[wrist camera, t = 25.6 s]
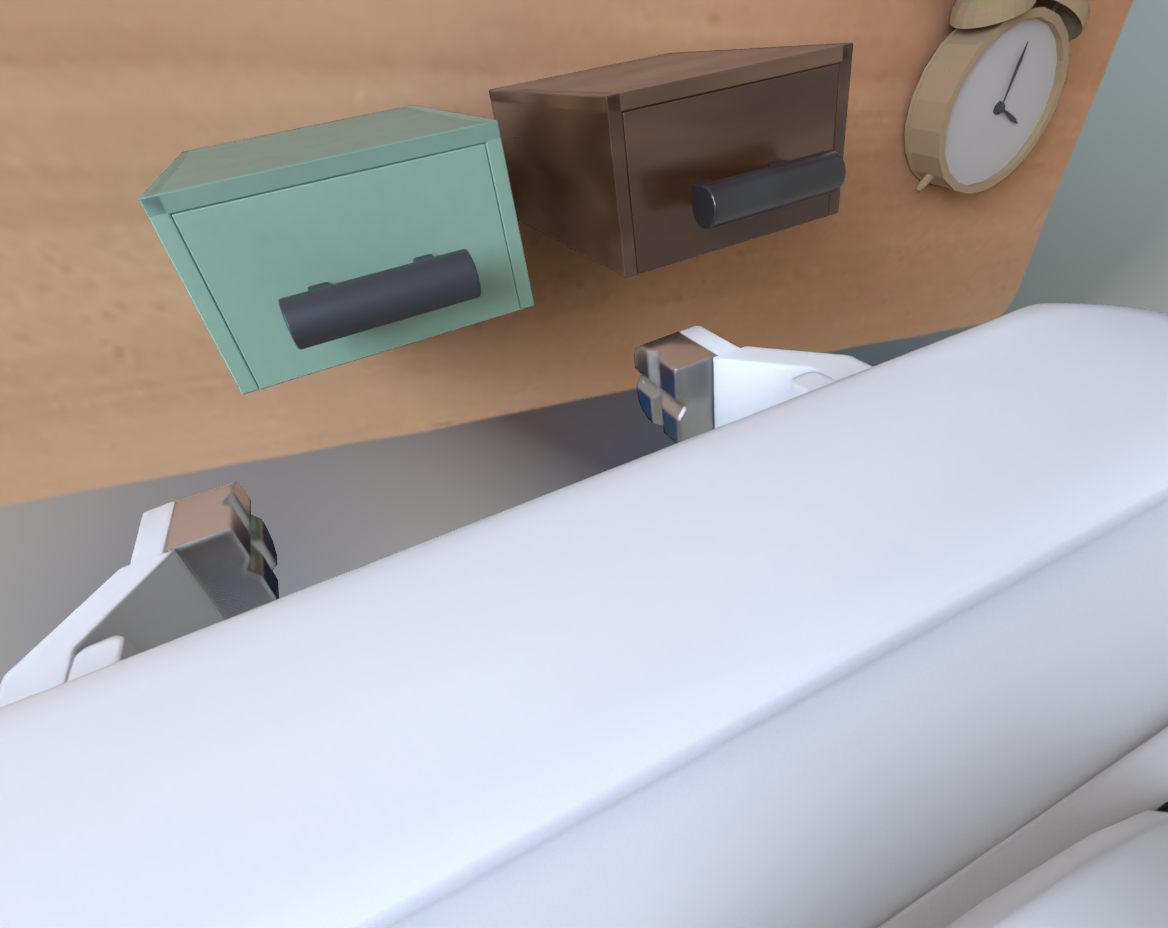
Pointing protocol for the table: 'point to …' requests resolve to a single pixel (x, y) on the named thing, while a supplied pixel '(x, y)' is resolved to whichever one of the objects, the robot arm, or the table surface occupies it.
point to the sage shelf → (342, 238)
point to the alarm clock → (990, 90)
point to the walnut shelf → (678, 150)
